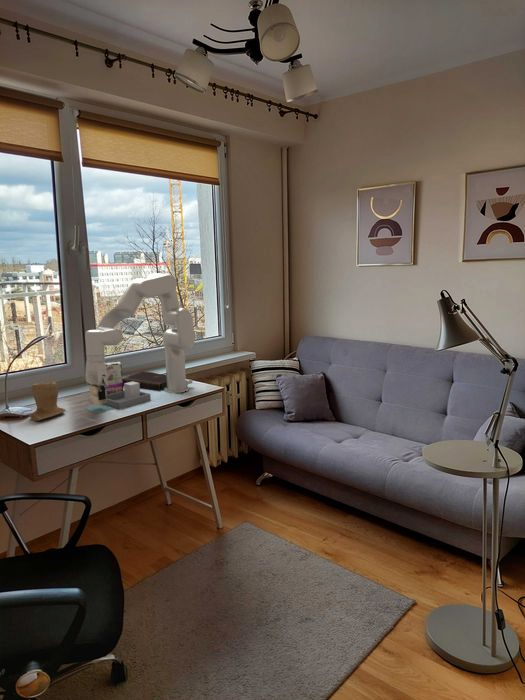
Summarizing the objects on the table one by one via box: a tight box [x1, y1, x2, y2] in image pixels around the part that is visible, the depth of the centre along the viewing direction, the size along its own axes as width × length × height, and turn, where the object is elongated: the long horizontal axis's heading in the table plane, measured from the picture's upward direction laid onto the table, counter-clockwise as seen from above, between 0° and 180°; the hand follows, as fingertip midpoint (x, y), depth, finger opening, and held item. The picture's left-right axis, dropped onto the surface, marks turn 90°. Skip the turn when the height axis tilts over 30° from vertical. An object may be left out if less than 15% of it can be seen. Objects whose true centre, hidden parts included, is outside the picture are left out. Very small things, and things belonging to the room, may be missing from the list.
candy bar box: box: [101, 361, 124, 395], centre depth 242 cm, size 11×5×16 cm, turn 112°
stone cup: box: [28, 381, 67, 422], centre depth 212 cm, size 15×12×15 cm
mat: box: [84, 404, 114, 415], centre depth 221 cm, size 8×10×1 cm
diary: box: [122, 370, 167, 392], centre depth 263 cm, size 19×25×5 cm
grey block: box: [123, 381, 141, 400], centre depth 234 cm, size 5×5×8 cm
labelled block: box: [88, 385, 107, 406], centre depth 220 cm, size 5×5×8 cm
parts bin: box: [102, 390, 152, 410], centre depth 232 cm, size 18×15×4 cm
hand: (98, 398), depth 220 cm, fingers closed on labelled block, 5 cm apart
